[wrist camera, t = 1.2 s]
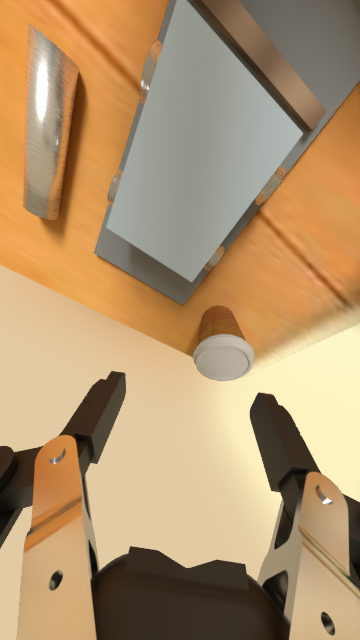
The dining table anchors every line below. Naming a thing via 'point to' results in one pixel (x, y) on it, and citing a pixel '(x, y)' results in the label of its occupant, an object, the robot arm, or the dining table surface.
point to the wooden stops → (264, 59)
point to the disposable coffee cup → (222, 347)
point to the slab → (197, 149)
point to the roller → (46, 123)
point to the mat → (310, 65)
